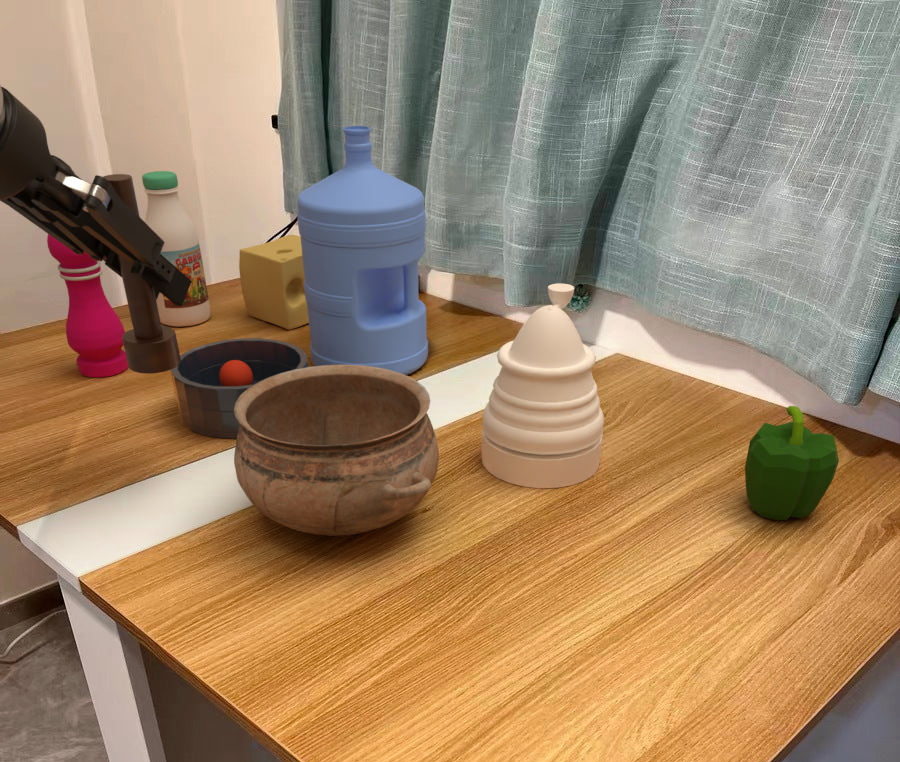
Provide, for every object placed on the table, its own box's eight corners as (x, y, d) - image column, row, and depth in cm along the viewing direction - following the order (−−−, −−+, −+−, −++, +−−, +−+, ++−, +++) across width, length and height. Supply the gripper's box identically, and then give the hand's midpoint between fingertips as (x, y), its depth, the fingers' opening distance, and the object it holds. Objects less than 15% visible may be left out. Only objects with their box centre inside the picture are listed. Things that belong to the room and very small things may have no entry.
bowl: (174, 443, 100) (164, 393, 96) (186, 387, 112) (177, 341, 109) (314, 434, 102) (309, 384, 98) (310, 380, 114) (305, 334, 111)
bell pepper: (821, 537, 84) (849, 441, 78) (732, 522, 86) (753, 427, 80) (824, 496, 90) (850, 404, 84) (740, 482, 92) (760, 392, 86)
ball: (221, 400, 107) (215, 368, 105) (222, 387, 110) (217, 356, 108) (254, 398, 108) (250, 366, 105) (255, 385, 111) (250, 354, 109)
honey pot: (521, 423, 104) (528, 265, 93) (620, 452, 98) (640, 287, 87) (458, 465, 95) (458, 298, 85) (562, 500, 89) (577, 324, 79)
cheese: (342, 314, 134) (337, 245, 128) (286, 333, 128) (278, 261, 122) (299, 299, 140) (292, 232, 134) (243, 316, 134) (233, 247, 128)
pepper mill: (63, 374, 116) (19, 211, 104) (100, 355, 121) (62, 198, 109) (108, 382, 114) (68, 217, 102) (144, 362, 119) (109, 203, 107)
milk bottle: (149, 326, 130) (119, 178, 118) (171, 309, 136) (144, 167, 124) (199, 329, 129) (173, 180, 117) (219, 311, 135) (196, 168, 123)
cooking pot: (194, 502, 89) (171, 387, 82) (346, 445, 99) (338, 339, 92) (338, 615, 74) (326, 487, 67) (501, 535, 84) (505, 416, 77)
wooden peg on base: (125, 375, 85) (81, 184, 75) (132, 355, 89) (91, 171, 79) (178, 372, 86) (141, 182, 76) (183, 353, 90) (149, 170, 80)
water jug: (289, 373, 116) (262, 134, 99) (346, 334, 127) (330, 114, 111) (397, 392, 111) (387, 144, 94) (446, 349, 123) (445, 122, 106)
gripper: (-118, 160, 68) (98, 312, 89) (24, 182, 62) (219, 339, 83) (-80, 73, 68) (125, 245, 90) (64, 86, 62) (248, 267, 84)
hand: (170, 290), depth 87 cm, fingers closed on wooden peg on base, 3 cm apart
